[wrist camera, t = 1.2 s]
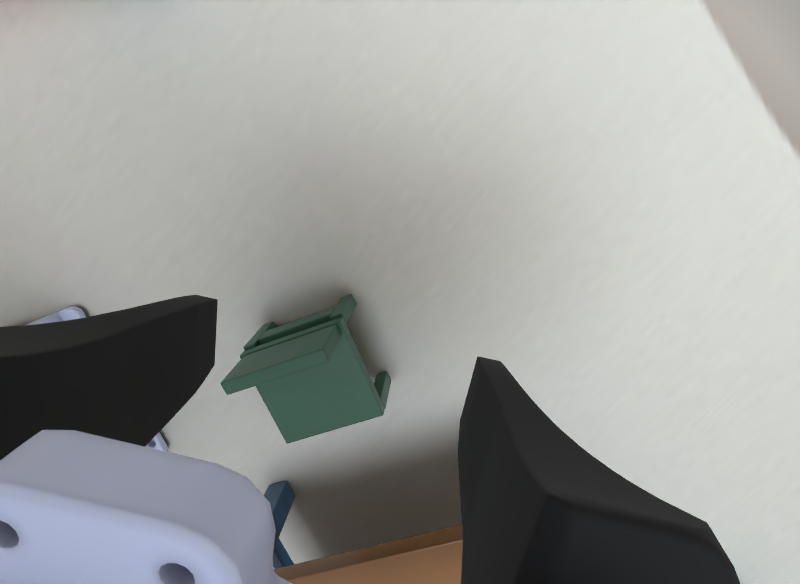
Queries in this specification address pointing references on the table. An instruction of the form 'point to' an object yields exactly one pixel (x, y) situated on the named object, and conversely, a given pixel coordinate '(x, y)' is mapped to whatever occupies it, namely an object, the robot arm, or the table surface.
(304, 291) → the table surface
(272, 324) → the chair
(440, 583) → the desk
